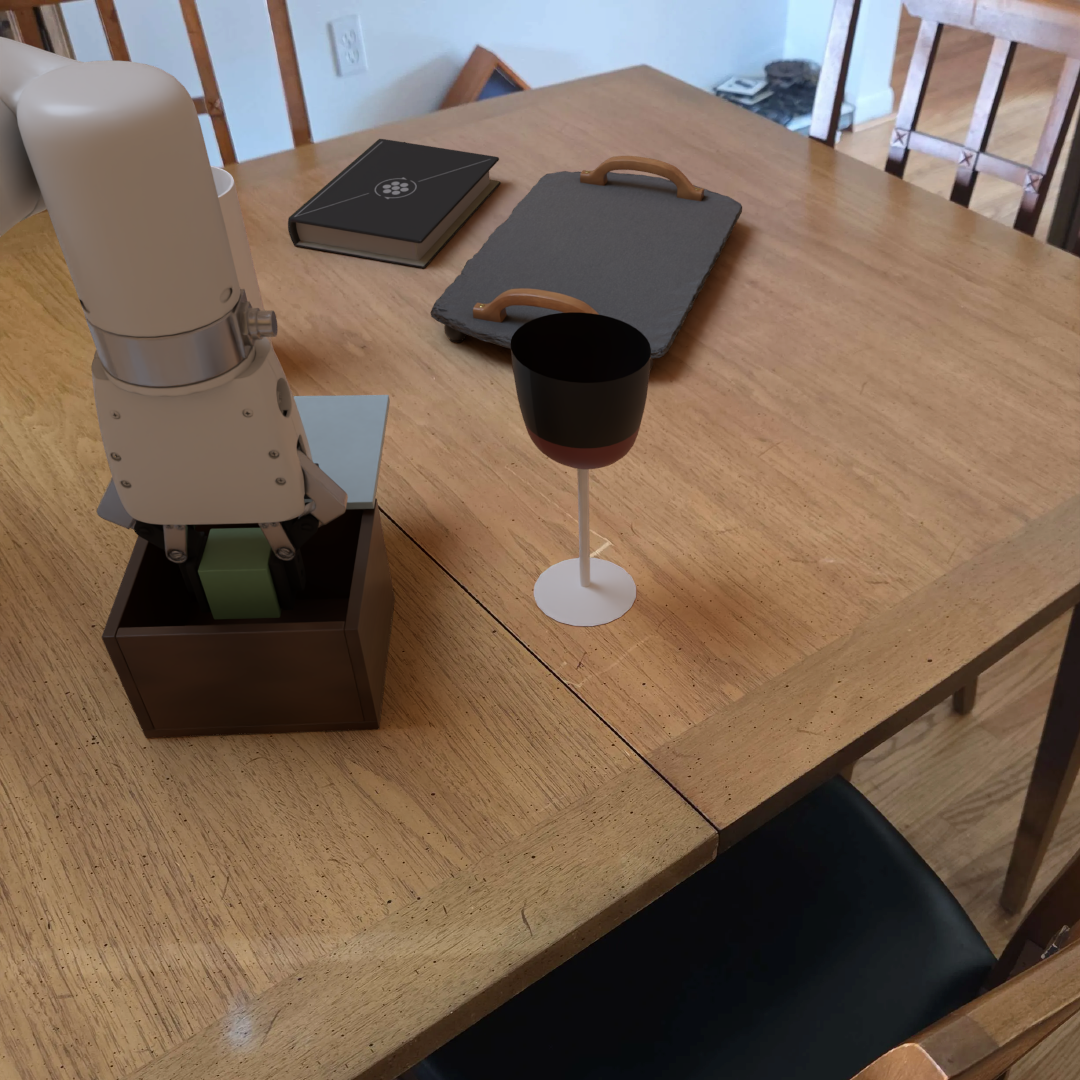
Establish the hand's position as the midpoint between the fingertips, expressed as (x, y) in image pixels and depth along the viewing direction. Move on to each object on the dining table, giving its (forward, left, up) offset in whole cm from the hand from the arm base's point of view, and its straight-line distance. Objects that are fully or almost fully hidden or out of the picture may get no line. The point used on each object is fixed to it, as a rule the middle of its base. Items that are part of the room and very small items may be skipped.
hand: (251, 594), depth 72 cm
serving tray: (+24, +55, -7) cm, 60 cm away
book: (+3, +69, -7) cm, 70 cm away
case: (0, +1, -7) cm, 7 cm away
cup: (-10, +39, -7) cm, 41 cm away
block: (0, 0, 0) cm, 0 cm away
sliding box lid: (0, +12, +2) cm, 12 cm away
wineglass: (+21, +7, -7) cm, 24 cm away
